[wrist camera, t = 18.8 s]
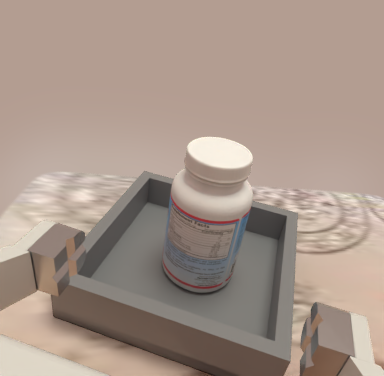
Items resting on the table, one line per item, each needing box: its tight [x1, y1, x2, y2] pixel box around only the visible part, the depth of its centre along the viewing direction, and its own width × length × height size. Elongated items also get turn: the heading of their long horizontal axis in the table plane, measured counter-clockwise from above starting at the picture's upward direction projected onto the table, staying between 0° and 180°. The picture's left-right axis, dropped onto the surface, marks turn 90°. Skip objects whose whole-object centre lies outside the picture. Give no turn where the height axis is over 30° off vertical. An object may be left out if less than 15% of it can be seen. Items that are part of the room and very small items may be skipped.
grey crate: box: [51, 171, 298, 376], centre depth 29 cm, size 16×16×4 cm
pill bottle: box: [162, 137, 253, 293], centre depth 27 cm, size 6×6×11 cm
